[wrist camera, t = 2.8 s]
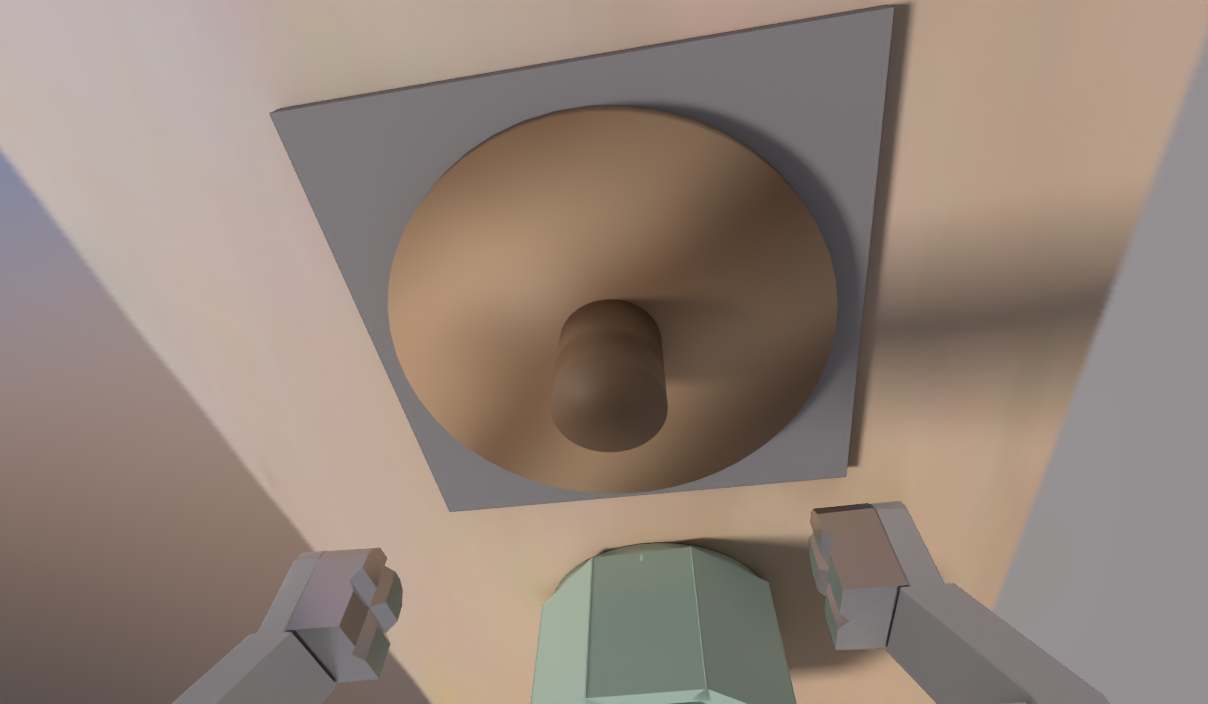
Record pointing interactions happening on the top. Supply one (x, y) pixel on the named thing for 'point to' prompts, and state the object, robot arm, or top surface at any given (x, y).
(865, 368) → the top surface
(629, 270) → the walnut lid
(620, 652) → the ceramic bowl
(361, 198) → the rubber mat
